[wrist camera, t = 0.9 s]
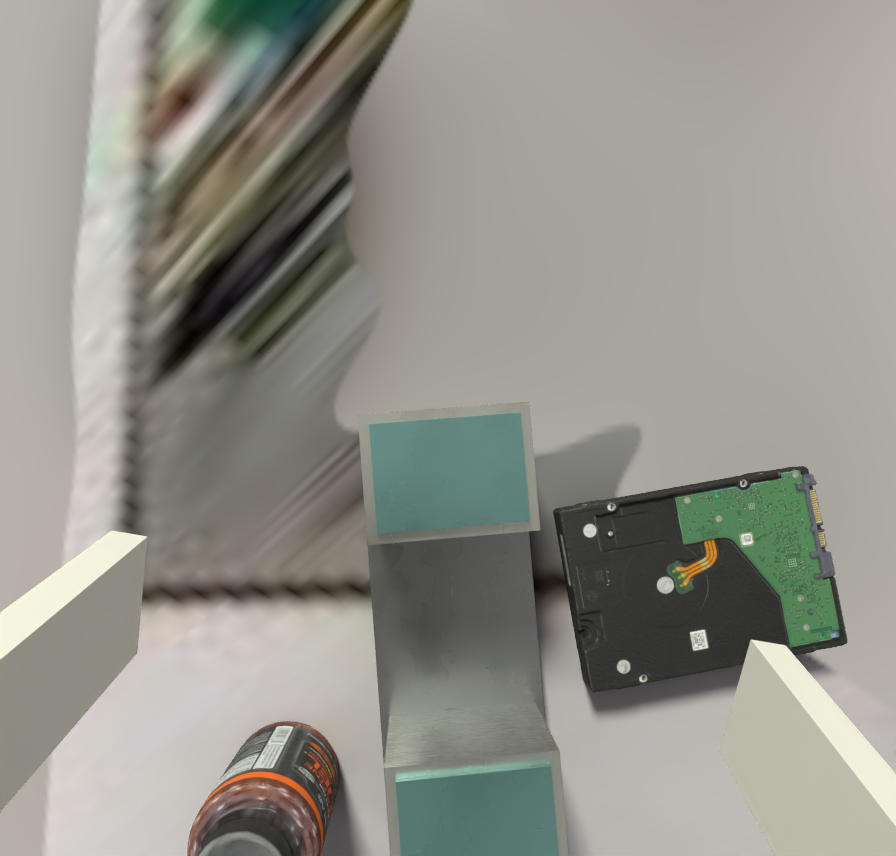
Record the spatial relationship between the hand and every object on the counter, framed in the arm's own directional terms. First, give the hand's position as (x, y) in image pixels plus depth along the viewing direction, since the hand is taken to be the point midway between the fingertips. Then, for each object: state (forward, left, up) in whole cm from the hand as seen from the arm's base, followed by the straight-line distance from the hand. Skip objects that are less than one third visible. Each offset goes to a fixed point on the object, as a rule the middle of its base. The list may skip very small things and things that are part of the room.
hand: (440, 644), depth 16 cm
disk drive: (-3, -15, -27) cm, 31 cm away
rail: (-4, -1, -26) cm, 27 cm away
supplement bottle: (-12, +9, -27) cm, 31 cm away
